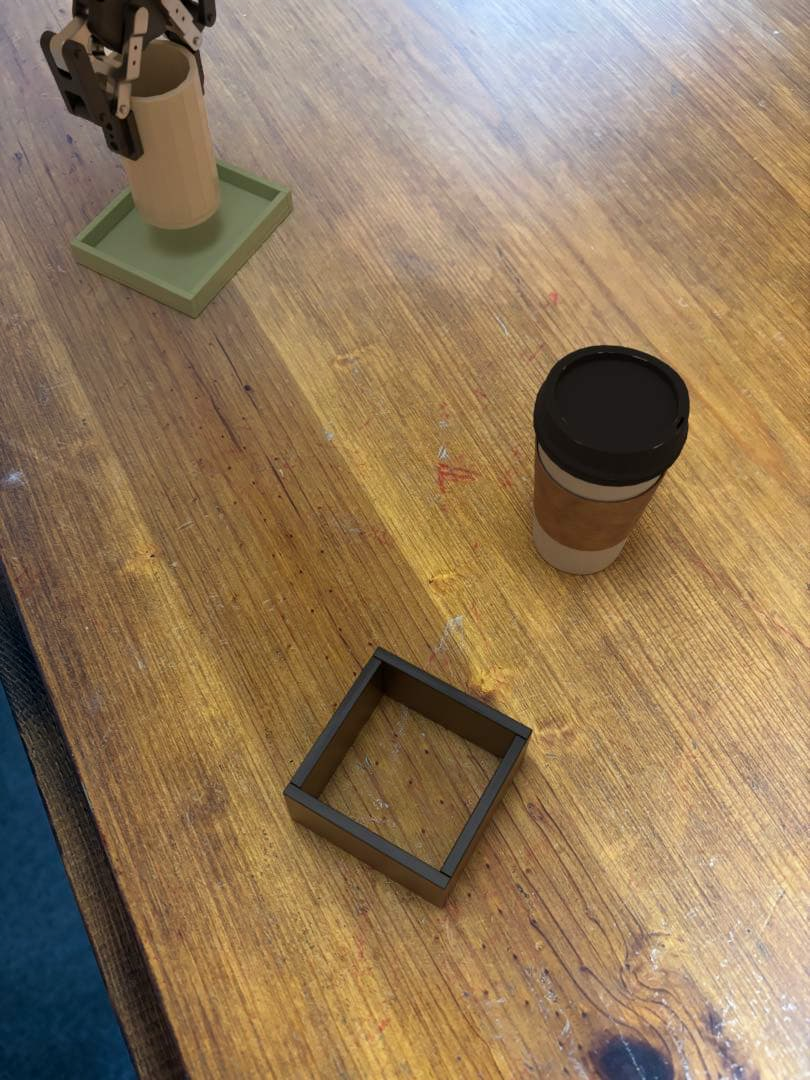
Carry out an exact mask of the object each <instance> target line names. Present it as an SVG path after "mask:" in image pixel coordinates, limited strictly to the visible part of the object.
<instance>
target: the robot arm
mask: <svg viewBox="0 0 810 1080" xmlns="http://www.w3.org/2000/svg"><path fill="white" fill-rule="evenodd" d="M71 1H72V3H71V16H72V19H71V20H70V21H69V22H68V23H67V24H66V25H65V26H64V27H63V28H62V29H61V30H60V31H59V33H56V32H54V31H52V30H49V29H47V30H44V32H42V34H41V35H40V37H39V46H40V49H41V51H42V53H43V56H44V58H45V60H46V63H47V66H48V68H49V70H50V73H51V75H52V77H53V79H54V81H55V84H56V86H57V88H58V89H57V90H58V91H59V93H60V96H61V98H62V100H63V102H64V105H65V108H66V109H67V112H68V114H70V115H72V116H75V117H78V118H81V119H83V120H86V121H88V122H90V123H93V125H96V126H98V127H101V130H102V133H103V135H104V136H103V137H104V140H105V143H106V147H107V149H108V150H109V151H110V152H113V153H115V154H116V155H119V156H120V157H121V156H123V157H126V158H128V159H130V160H133V161H137V160H138V159H139V158H140V157H141V156H142V155H143V154H144V151H143V147H142V143H141V140H140V136H139V132H138V128H137V124H136V120H135V117H134V113H133V111H132V110H130V101H131V90H132V83H133V82H134V81H136V80H138V78H139V74H140V64H141V53H142V52H143V51H144V50H145V49H146V47H147V46H148V45H149V43H150V42H151V41H152V40H154V39H159V38H161V36H162V37H163V39H164V40H169V41H172V42H175V43H177V44H180V45H182V46H184V47H186V48H187V49H188V50H189V51H190V52H191V53H192V54H193V55H194V57H195V60H196V64H197V67H198V73H199V78H200V83H201V88H202V94H203V97H204V96H205V94H206V91H205V88H204V86H205V74H204V73H205V71H204V68H203V62H202V57H201V51H200V48H201V47H202V45H203V34H202V32H203V31H204V29H205V28H206V27H207V28H212V27H213V26H214V25H215V23H216V21H217V7H216V0H197V1H195V0H71ZM105 49H107V50H109V51H111V52H113V51H114V52H116V53H119V54H121V55H122V62H118V61H116V60H113V59H111V58H109V57H107V56H108V55H107V54H106V52H105ZM108 76H109V77H111V78H112V79H113V81H114V88H113V94H112V93H109V92H107V91H106V90H107V77H108Z"/></svg>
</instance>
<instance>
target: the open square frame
mask: <svg viewBox="0 0 810 1080" xmlns="http://www.w3.org/2000/svg"><path fill="white" fill-rule="evenodd" d="M376 647H377V648H376V649H375V650H374V652H373V653H372V655H371V656H370V658H369V660H368V661H367V663H366V664H365V665H364V667H363V669H362V670H361V671H360V673H359V674H358V676H357V678H356V679H355V681H354V682H353V683H352V685H351V686H350V688H349V690H348V692H347V693H346V694H345V696H344V697H343V699H342V701H341V703H339V705H338V707H337V708H336V710H335V712H334V713H333V714H332V716H331V717H330V719H329V721H327V724H326V725H325V727H324V728H323V729H322V731H321V733H320V734H319V736H318V738H317V739H316V740H315V742H314V743H313V745H312V746H311V748H310V749H309V751H308V753H307V754H306V755H305V758H304V759H303V760H302V761H301V763H300V765H299V767H297V768H298V769H297V770H296V771H295V772H294V774H293V775H292V777H291V779H290V780H289V782H288V783H287V785H286V787H285V788H284V790H283V791H282V795H283V799H284V801H285V804H286V807H287V810H288V813H289V816H290V819H291V820H293V821H295V822H296V823H298V824H300V825H301V826H303V827H304V828H306V829H308V830H309V831H311V832H313V833H314V834H316V835H318V836H319V837H321V838H322V839H324V840H326V841H328V842H329V843H331V844H333V846H336V847H338V848H339V849H341V850H342V851H344V852H346V853H347V854H349V855H351V856H352V857H354V858H356V859H357V860H359V861H361V862H362V863H364V864H365V865H367V866H368V867H370V868H372V869H374V870H375V871H377V872H379V873H380V874H382V875H384V876H385V877H387V878H388V879H391V880H392V881H393V882H395V883H397V884H399V885H400V886H402V887H404V888H405V889H407V890H409V891H410V892H412V893H414V894H415V895H417V896H419V898H422V899H424V900H425V901H426V902H428V903H430V904H431V905H434V906H435V907H437V908H438V909H440V910H442V909H443V908H444V907H445V905H446V903H447V901H448V899H449V898H450V895H451V894H452V892H453V890H454V889H455V886H456V884H457V883H458V881H459V879H460V878H461V876H462V874H463V872H464V870H465V868H466V866H467V864H468V862H469V861H470V859H471V857H472V855H473V853H474V852H475V850H476V848H477V846H478V844H479V843H480V841H481V839H482V837H483V835H484V833H485V832H486V830H487V828H488V827H489V825H490V823H491V821H492V819H493V817H494V815H495V813H496V811H497V810H498V808H499V806H500V804H501V803H502V801H503V799H504V797H505V795H506V793H507V792H508V789H509V788H510V787H511V784H512V782H513V781H514V779H515V777H516V775H517V773H518V771H519V769H520V768H521V766H522V764H523V762H524V761H525V758H526V755H527V752H528V748H529V746H530V745H529V744H530V741H531V738H532V734H533V731H534V729H533V728H531V727H529V726H528V725H526V724H524V723H522V722H520V721H518V720H516V719H514V718H513V717H511V716H509V715H507V714H505V713H504V712H502V711H499V710H498V709H496V708H494V707H492V706H490V705H489V704H487V703H485V702H483V701H481V700H479V699H478V698H476V697H474V696H472V695H471V694H468V693H467V692H465V691H463V690H461V689H459V688H457V687H456V686H453V685H452V684H450V683H448V682H446V681H444V680H442V679H441V678H439V677H437V676H435V675H434V674H431V673H430V672H427V671H426V670H424V669H422V668H420V667H418V666H417V665H414V664H413V663H411V662H409V661H407V660H406V659H404V658H402V657H400V656H398V655H397V654H394V653H393V652H392V651H389V650H387V649H385V648H384V647H381V646H380V645H378V646H376ZM384 695H386V696H388V697H389V698H392V699H393V700H394V701H397V702H398V703H401V704H402V705H404V706H406V707H408V708H409V709H411V710H413V711H415V712H416V713H418V714H420V715H422V716H423V717H426V718H428V719H429V720H431V721H433V722H434V723H436V724H439V725H440V726H442V727H444V728H445V729H447V730H449V731H451V732H452V733H454V734H456V735H458V736H460V737H461V738H464V739H465V740H467V741H469V742H471V743H473V744H475V745H476V746H478V747H479V748H481V749H483V750H485V751H487V752H488V753H491V754H493V755H494V756H496V757H497V758H500V759H501V760H500V762H499V764H498V765H497V767H496V769H495V771H494V772H493V774H492V776H491V778H490V780H489V781H488V783H487V785H486V787H485V789H484V791H483V793H482V794H481V796H480V797H479V799H478V801H477V803H476V805H475V807H474V808H473V811H472V812H471V814H470V816H469V817H468V819H467V820H466V823H465V825H464V827H463V828H462V829H461V832H460V834H459V835H458V837H457V839H456V840H455V842H454V844H453V846H452V848H451V850H450V851H449V854H448V855H447V857H446V859H445V861H444V862H443V864H442V866H441V868H440V869H439V870H438V869H436V868H435V867H433V866H431V865H430V864H428V863H426V862H424V861H423V860H422V859H420V858H418V857H416V856H415V855H413V854H411V853H409V852H408V851H407V850H404V849H403V848H401V847H400V846H398V845H396V844H394V843H393V842H391V841H389V840H387V839H386V838H384V837H382V836H381V835H380V834H377V833H376V832H375V831H373V830H371V829H370V828H367V827H366V826H364V825H363V824H361V823H359V822H357V821H356V820H354V819H353V818H350V817H349V816H347V815H346V814H344V813H342V812H341V811H339V810H337V809H336V808H334V807H332V806H330V805H329V804H327V803H326V802H323V801H322V800H320V799H319V798H320V795H321V794H322V793H323V791H324V789H325V788H326V786H327V785H328V783H329V781H330V780H331V778H332V777H333V775H334V774H335V772H336V771H337V769H338V767H339V766H340V764H341V763H342V761H343V759H344V758H345V756H346V755H347V753H348V752H349V750H350V749H351V747H352V745H353V743H354V742H355V741H356V739H357V738H358V736H359V735H360V733H361V731H362V730H363V728H364V727H365V725H366V723H367V722H368V720H369V718H370V717H371V715H372V714H373V712H374V710H375V709H376V708H377V706H378V704H379V702H380V701H381V699H382V698H383V696H384Z"/></svg>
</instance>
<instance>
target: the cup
mask: <svg viewBox="0 0 810 1080" xmlns="http://www.w3.org/2000/svg"><path fill="white" fill-rule="evenodd" d="M107 57H109V58H111V59H113V60H116V61H118V62H122V55H121V54H119V53H116V52H114V51H111V52H110V53H109V54H108V55H107ZM113 88H114V81H113V79H112V78H111V77H109V76H108V77H107V90H106V91H107V92H109V93H112V94H113ZM204 99H205V98H204V96H203V94H202V88H201V83H200V78H199V73H198V67H197V64H196V60H195V57H194V55H193V54H192V53H191V52H190V51H189V50H188V49H187V48H186V47H184V46H182V45H180V44H177V43H175V42H172V41H169V40H167V39H159V38H156V39H154V40H152V41H151V42H150V43H149V45H148V46H147V47H146V49H145V50H144V51H143V52H142V53H141V64H140V74H139V78H138V80H136V81H134V82H133V83H132V90H131V101H130V110H132V111H133V113H134V117H135V120H136V124H137V128H138V132H139V136H140V140H141V143H142V147H143V151H144V154H143V155H142V156H141V157H140V158H139V159H138V160H137V161H133V160H130V159H128V158H126V157H123V156H121V155H120V159H121V161H122V165H123V169H124V172H125V175H126V179H127V182H128V185H129V186H130V190H131V193H132V197H133V200H134V204H135V206H136V209H137V211H138V213H139V215H140V216H141V217H142V218H143V219H144V220H145V221H146V222H148V223H149V224H151V225H153V226H156V227H159V228H162V229H170V230H178V229H186V228H190V227H193V226H196V225H198V224H201V223H203V222H204V221H206V220H207V219H209V218H210V217H211V216H212V215H213V214H214V213H215V212H216V210H217V209H218V207H219V205H220V202H221V188H220V183H219V178H218V172H217V167H216V162H215V157H216V156H215V152H214V151H215V150H214V146H213V141H212V136H211V131H210V130H211V129H210V126H209V121H208V115H207V109H206V105H205V100H204Z"/></svg>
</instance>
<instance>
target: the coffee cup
mask: <svg viewBox="0 0 810 1080" xmlns="http://www.w3.org/2000/svg"><path fill="white" fill-rule="evenodd" d="M533 408H534V409H533V412H532V426H533V430H534V434H535V436H534V459H533V460H534V462H533V463H534V465H533V467H534V468H533V470H534V471H533V511H532V527H531V528H532V534H531V535H532V540H533V544H534V546H535V549H536V551H537V552H538V555H540V556H541V558H542V559H543V560H544V561H545V562H546V563H547V564H548V565H550V566H552V567H553V568H555V569H556V570H559V571H561V572H564V573H567V574H572V575H582V576H583V575H592V574H595V573H597V572H601V571H602V570H605V569H606V568H608V567H610V565H612V564H613V563H614V562H615V561H616V560H617V558H618V557H619V556H620V554H621V552H622V550H623V548H624V546H625V544H626V543H627V541H628V539H629V537H630V535H631V533H632V532H633V531H634V529H635V527H636V525H637V524H638V522H639V521H640V519H641V517H642V515H643V514H644V512H645V511H646V509H647V507H648V505H649V503H650V502H651V500H652V498H653V497H654V495H655V493H656V491H657V490H658V488H659V487H660V485H661V483H662V481H663V480H664V478H665V476H666V474H667V472H668V470H669V469H670V468H671V467H673V465H674V464H675V463H676V461H677V460H678V459H679V457H680V455H681V452H682V451H683V449H684V446H685V444H686V442H687V439H688V434H689V427H690V425H689V423H690V422H689V418H690V413H691V398H690V393H689V388H688V386H687V384H686V382H685V380H684V379H683V378H682V376H681V375H680V374H679V373H678V372H677V371H676V370H675V369H674V368H673V367H672V366H671V365H669V364H668V363H666V362H665V361H663V360H662V359H660V358H658V357H656V356H654V355H651V354H650V353H648V352H646V351H642V350H639V349H636V348H633V347H627V346H622V345H613V344H599V345H597V344H596V345H589V346H585V347H582V348H578V349H576V350H573V351H571V352H569V353H567V354H565V356H563V357H561V358H560V359H558V361H556V363H555V364H554V365H553V366H552V367H551V368H550V370H549V371H548V374H547V376H546V378H545V380H544V381H543V382H542V383H541V386H540V387H539V389H538V391H537V393H536V397H535V400H534V407H533Z"/></svg>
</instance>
